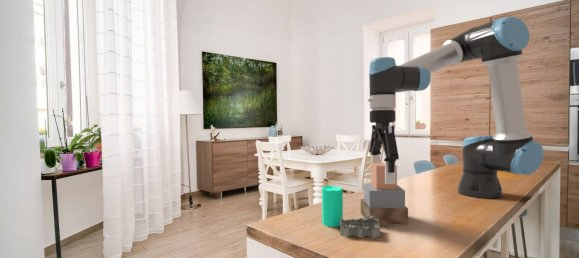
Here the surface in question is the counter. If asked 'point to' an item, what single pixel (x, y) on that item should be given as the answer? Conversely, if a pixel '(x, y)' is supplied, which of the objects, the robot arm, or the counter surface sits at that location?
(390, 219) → the tower base
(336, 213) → the candle
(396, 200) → the gray tower middle block
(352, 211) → the counter surface
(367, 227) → the egg carton
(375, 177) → the terracotta block
